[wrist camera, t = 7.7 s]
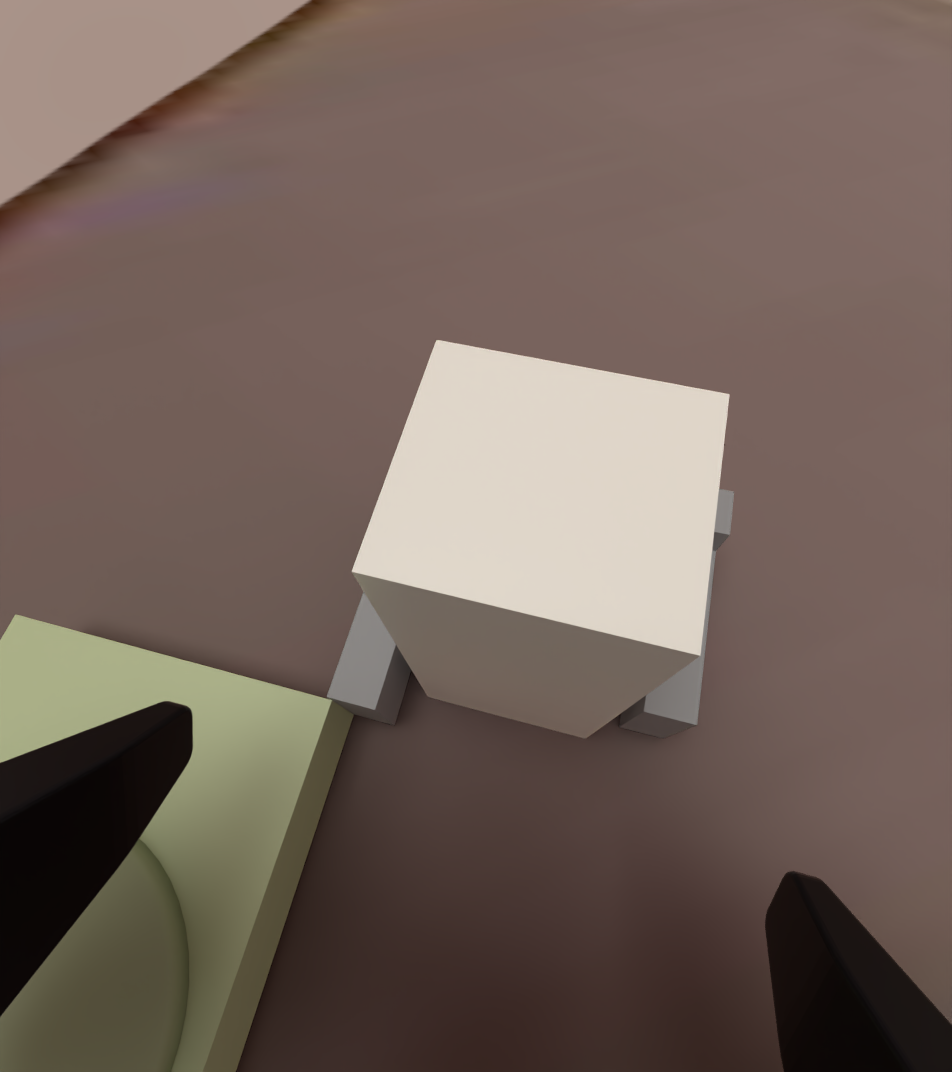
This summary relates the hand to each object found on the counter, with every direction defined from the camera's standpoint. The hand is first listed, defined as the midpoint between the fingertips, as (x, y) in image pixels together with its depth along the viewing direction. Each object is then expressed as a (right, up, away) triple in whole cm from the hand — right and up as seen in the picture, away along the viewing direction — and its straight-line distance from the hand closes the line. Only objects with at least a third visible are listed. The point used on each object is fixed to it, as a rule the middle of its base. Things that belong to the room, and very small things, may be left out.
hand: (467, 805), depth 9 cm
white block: (+1, +1, +9) cm, 9 cm away
